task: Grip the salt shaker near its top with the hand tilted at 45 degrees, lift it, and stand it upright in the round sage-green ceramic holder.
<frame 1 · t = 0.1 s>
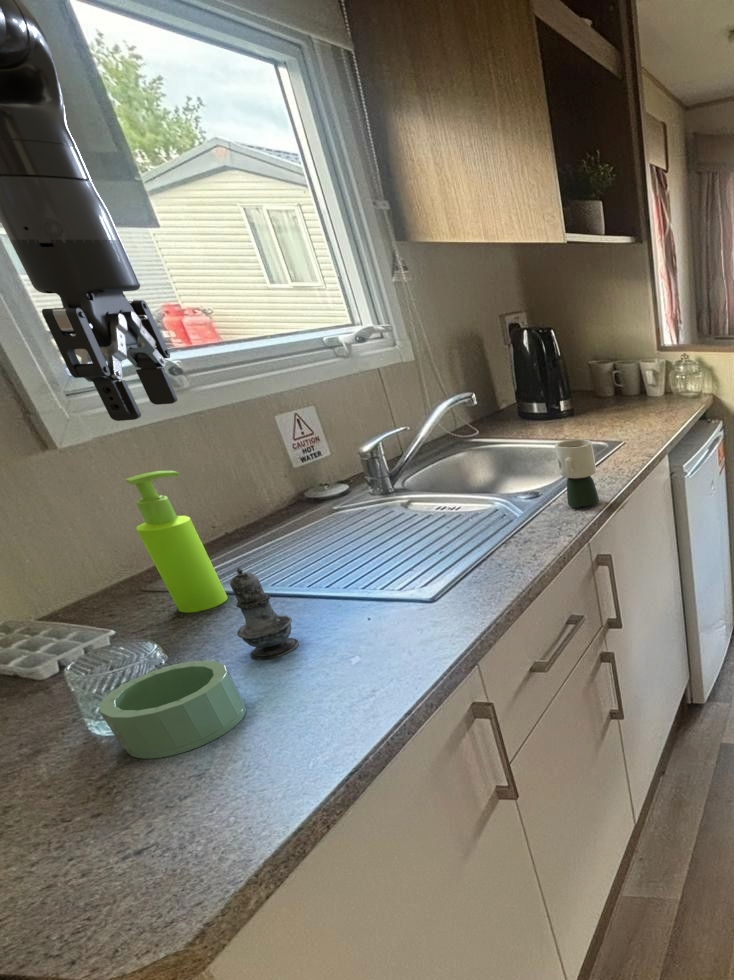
hand: (147, 411, 69), 32 cm above the countertop, tool pointing down, fingers open, 8 cm apart
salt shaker: (275, 650, 88), on the countertop
soap dispenser: (208, 603, 100), on the countertop
character mug: (584, 506, 137), on the countertop
holder: (188, 727, 73), on the countertop
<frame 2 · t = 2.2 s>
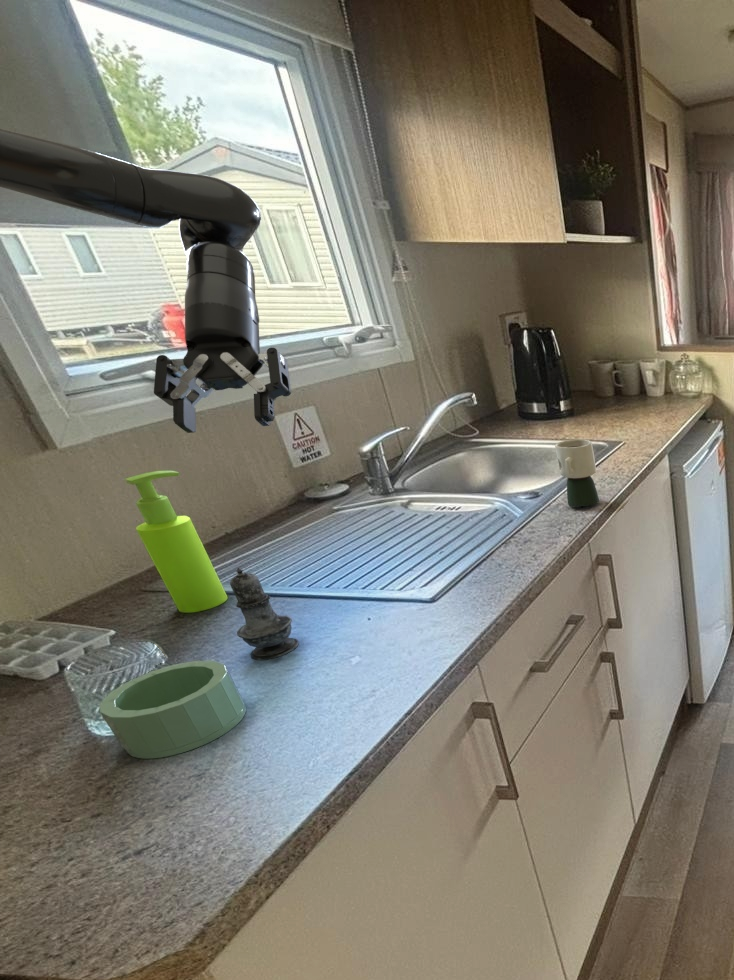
hand: (225, 426, 85), 27 cm above the countertop, tool tilted 40°, fingers open, 8 cm apart
nothing on the countertop moved.
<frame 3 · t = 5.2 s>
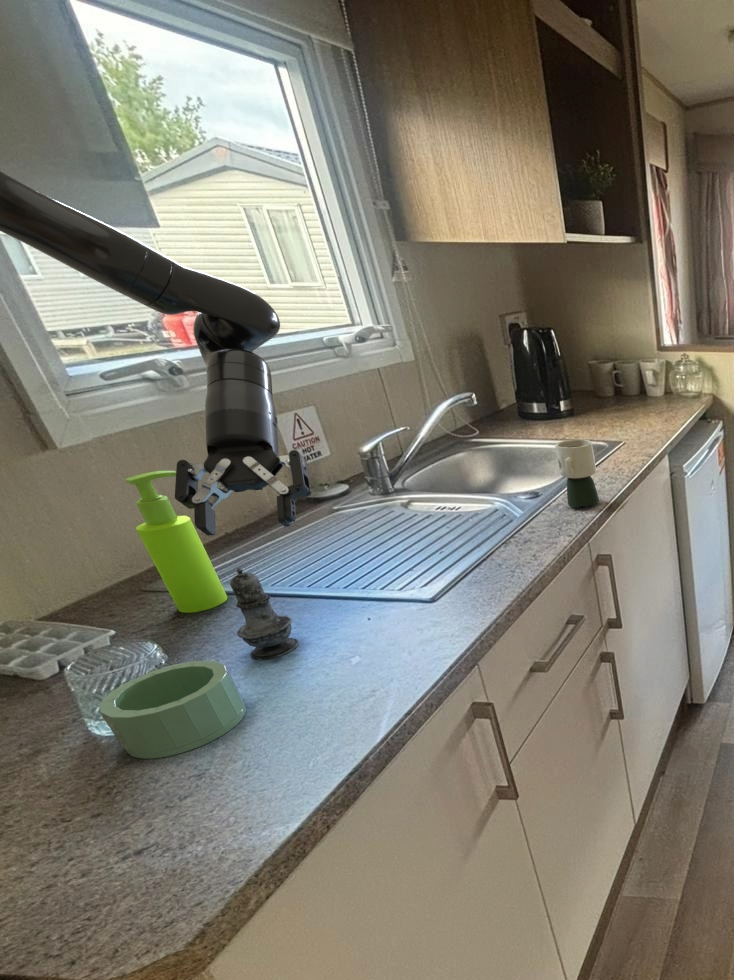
hand: (247, 528, 86), 15 cm above the countertop, tool tilted 45°, fingers open, 8 cm apart
nothing on the countertop moved.
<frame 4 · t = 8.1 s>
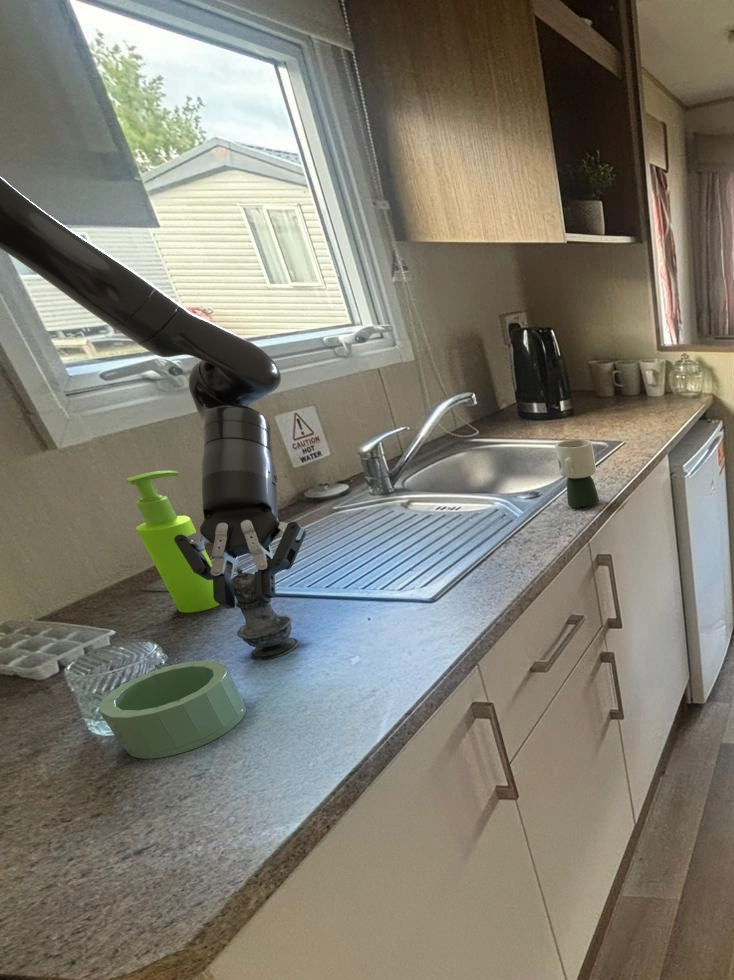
hand: (245, 603, 82), 8 cm above the countertop, tool tilted 45°, fingers closed on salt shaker, 3 cm apart
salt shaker: (275, 650, 88), on the countertop, touching gripper
everything else where it was.
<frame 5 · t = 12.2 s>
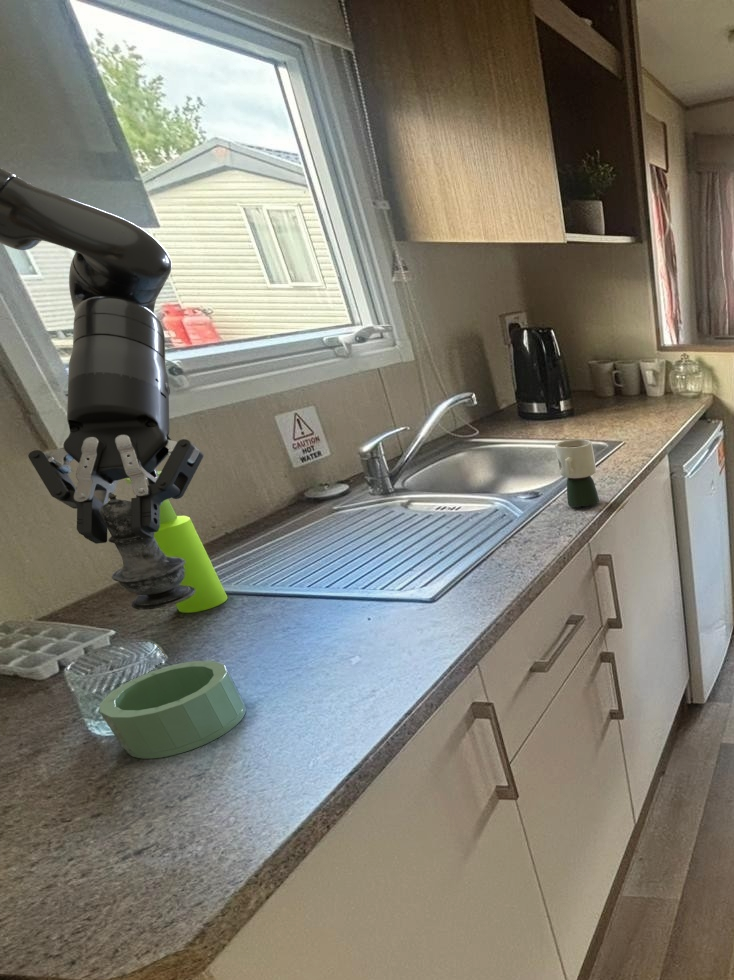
hand: (119, 536, 66), 22 cm above the countertop, tool tilted 45°, fingers closed on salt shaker, 3 cm apart
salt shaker: (165, 599, 72), point 13 cm above the countertop, touching gripper
everything else where it was.
when the fingers open (9 cm above the countertop, at t = 16.7 s): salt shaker stays where it is, resting on holder.
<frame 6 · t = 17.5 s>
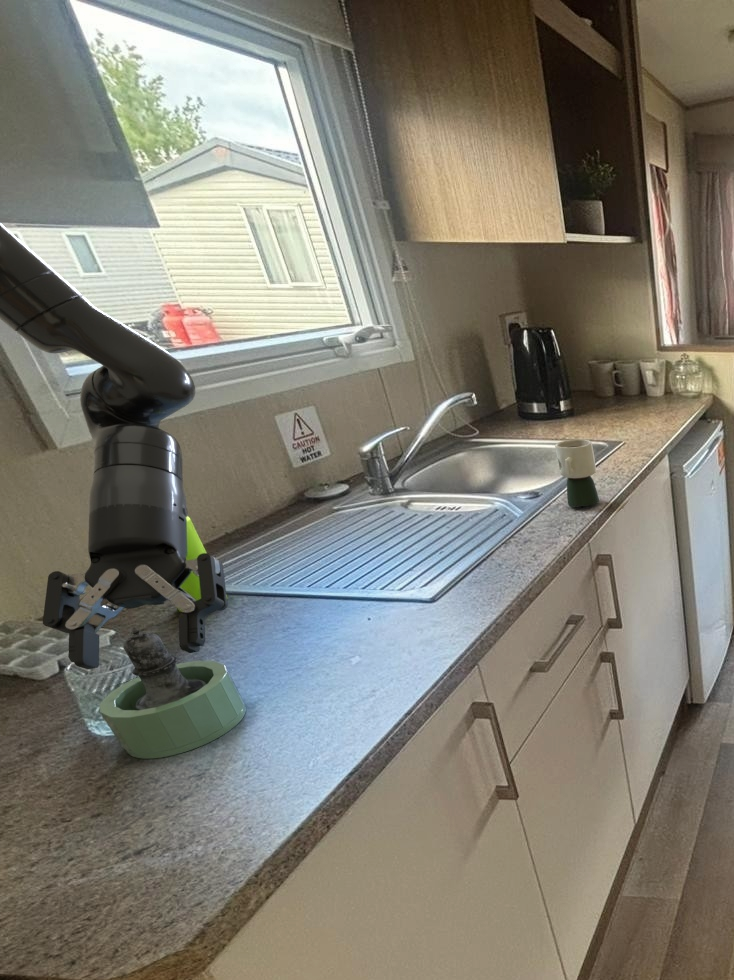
hand: (139, 658, 67), 10 cm above the countertop, tool tilted 45°, fingers open, 8 cm apart
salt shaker: (186, 722, 73), point 1 cm above the countertop, touching holder
everything else where it was.
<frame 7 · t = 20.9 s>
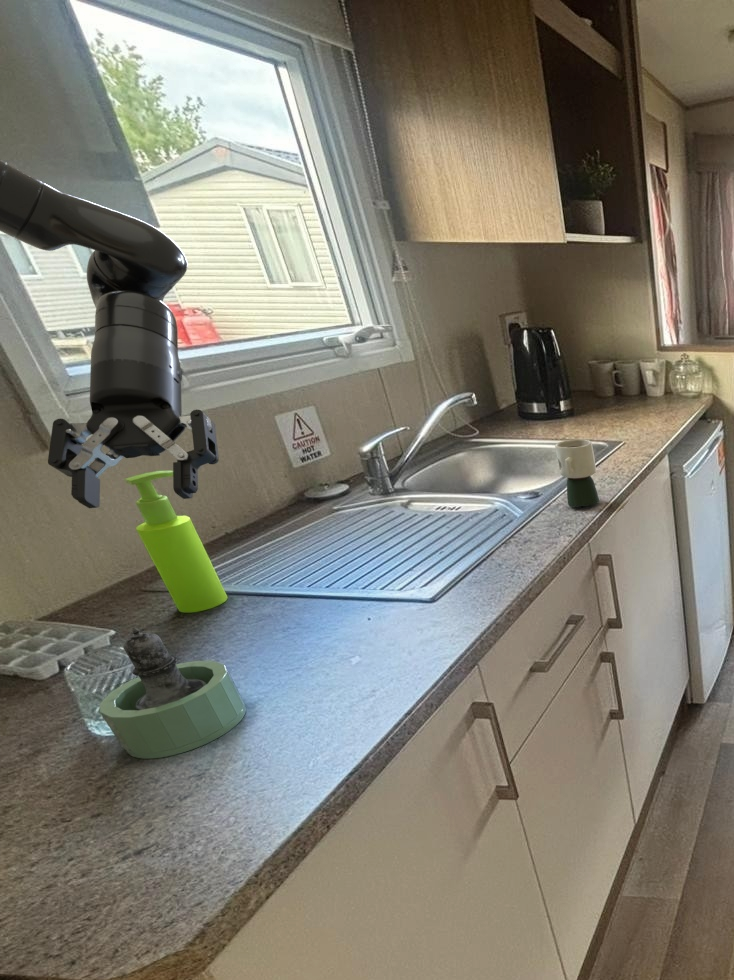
hand: (136, 500, 73), 23 cm above the countertop, tool tilted 45°, fingers open, 8 cm apart
nothing on the countertop moved.
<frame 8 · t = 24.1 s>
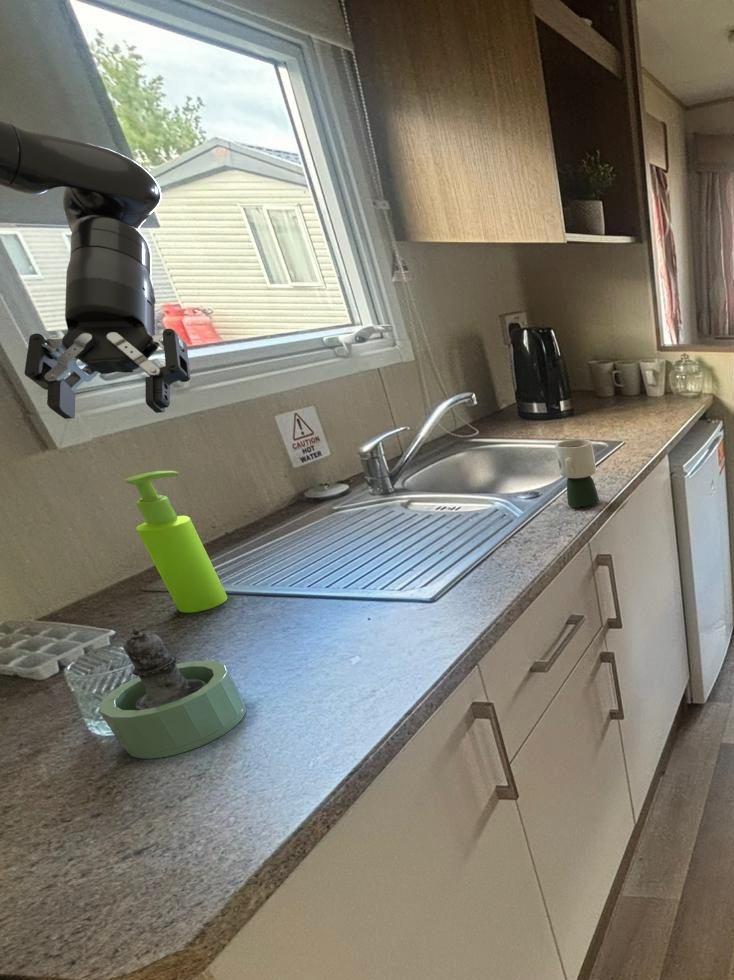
hand: (110, 411, 76), 31 cm above the countertop, tool tilted 45°, fingers open, 8 cm apart
nothing on the countertop moved.
at the end: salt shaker 0.2 cm off-centre in the holder, point 0.6 cm above the holder's base; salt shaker tilted 0°; the gripper is holding nothing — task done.
